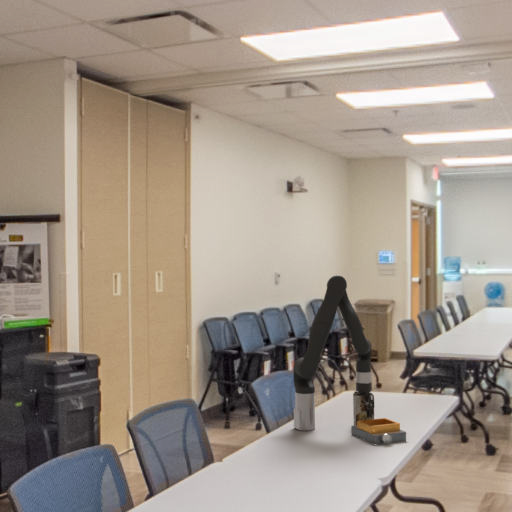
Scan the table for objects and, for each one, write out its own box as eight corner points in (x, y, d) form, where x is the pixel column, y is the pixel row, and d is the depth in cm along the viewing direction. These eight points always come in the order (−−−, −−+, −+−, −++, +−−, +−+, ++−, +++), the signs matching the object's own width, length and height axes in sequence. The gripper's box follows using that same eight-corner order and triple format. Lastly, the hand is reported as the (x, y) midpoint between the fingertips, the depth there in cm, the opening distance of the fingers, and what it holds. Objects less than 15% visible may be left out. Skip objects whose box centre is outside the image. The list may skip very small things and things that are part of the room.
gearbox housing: (378, 446, 318) (377, 430, 317) (351, 434, 338) (351, 419, 338) (409, 442, 324) (409, 426, 324) (381, 431, 344) (381, 416, 344)
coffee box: (372, 426, 355) (371, 392, 355) (374, 429, 348) (374, 394, 348) (353, 426, 354) (352, 392, 354) (355, 429, 348) (355, 395, 348)
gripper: (349, 379, 356) (349, 413, 356) (364, 384, 343) (365, 419, 343) (362, 378, 359) (363, 411, 359) (378, 382, 346) (379, 417, 346)
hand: (364, 415), depth 351 cm, fingers open, 8 cm apart
